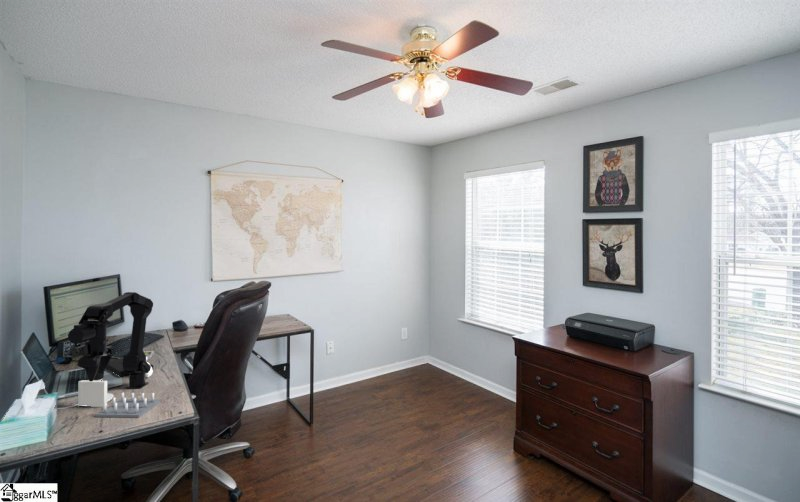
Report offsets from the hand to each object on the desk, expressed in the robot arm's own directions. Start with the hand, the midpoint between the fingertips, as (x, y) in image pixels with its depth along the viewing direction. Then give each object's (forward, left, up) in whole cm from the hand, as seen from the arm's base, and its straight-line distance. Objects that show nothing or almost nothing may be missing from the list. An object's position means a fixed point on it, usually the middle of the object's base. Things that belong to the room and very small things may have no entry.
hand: (96, 377), depth 155 cm
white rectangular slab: (-2, -3, -12) cm, 13 cm away
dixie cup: (-28, -21, -13) cm, 37 cm away
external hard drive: (-46, -18, -13) cm, 51 cm away
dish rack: (+1, +13, -12) cm, 18 cm away
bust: (-36, -4, -13) cm, 39 cm away
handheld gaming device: (-68, -24, -13) cm, 74 cm away
